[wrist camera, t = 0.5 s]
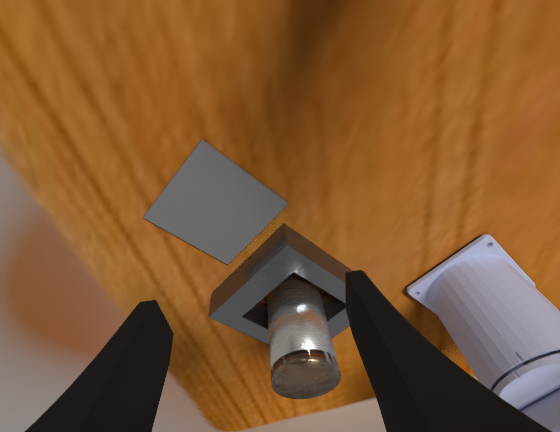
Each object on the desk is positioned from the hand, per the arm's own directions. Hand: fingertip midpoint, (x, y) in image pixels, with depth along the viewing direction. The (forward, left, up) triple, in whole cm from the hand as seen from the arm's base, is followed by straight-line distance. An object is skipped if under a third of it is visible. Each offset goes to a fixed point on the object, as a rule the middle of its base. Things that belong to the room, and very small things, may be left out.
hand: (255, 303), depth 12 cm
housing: (-9, +6, -10) cm, 14 cm away
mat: (+1, +3, -10) cm, 11 cm away
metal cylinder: (-9, +6, -10) cm, 15 cm away
